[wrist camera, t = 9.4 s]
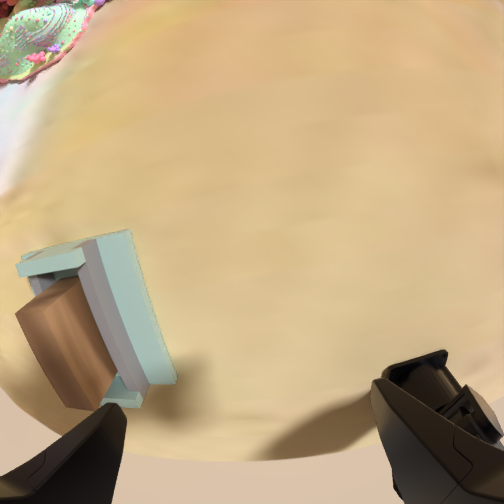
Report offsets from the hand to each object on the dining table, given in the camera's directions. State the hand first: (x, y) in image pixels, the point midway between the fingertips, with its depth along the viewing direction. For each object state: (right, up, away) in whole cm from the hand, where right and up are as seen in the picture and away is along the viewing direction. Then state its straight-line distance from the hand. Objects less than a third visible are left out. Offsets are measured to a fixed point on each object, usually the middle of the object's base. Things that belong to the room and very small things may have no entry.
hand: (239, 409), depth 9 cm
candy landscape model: (-16, +31, +3) cm, 35 cm away
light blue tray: (-12, 0, +13) cm, 18 cm away
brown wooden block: (-12, 0, +12) cm, 17 cm away
